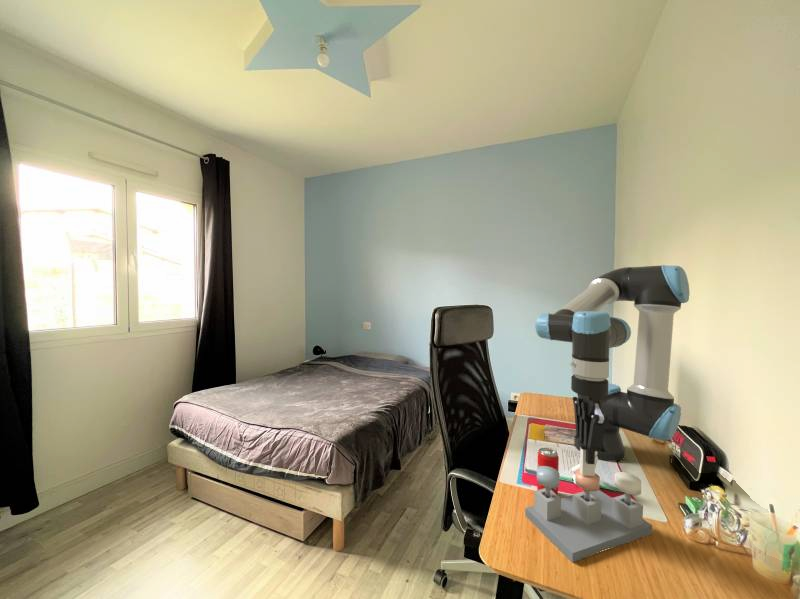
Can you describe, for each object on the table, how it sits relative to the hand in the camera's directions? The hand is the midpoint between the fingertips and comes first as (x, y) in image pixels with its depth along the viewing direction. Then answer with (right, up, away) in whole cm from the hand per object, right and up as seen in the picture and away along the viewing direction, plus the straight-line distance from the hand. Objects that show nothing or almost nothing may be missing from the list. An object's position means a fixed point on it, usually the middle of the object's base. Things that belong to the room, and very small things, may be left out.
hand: (587, 473), depth 74 cm
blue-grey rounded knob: (-9, -7, +2) cm, 11 cm away
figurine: (+9, -12, +16) cm, 22 cm away
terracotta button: (0, -7, 0) cm, 7 cm away
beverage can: (-4, -12, +11) cm, 17 cm away
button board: (0, -13, +1) cm, 13 cm away
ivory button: (+9, -7, -1) cm, 12 cm away
